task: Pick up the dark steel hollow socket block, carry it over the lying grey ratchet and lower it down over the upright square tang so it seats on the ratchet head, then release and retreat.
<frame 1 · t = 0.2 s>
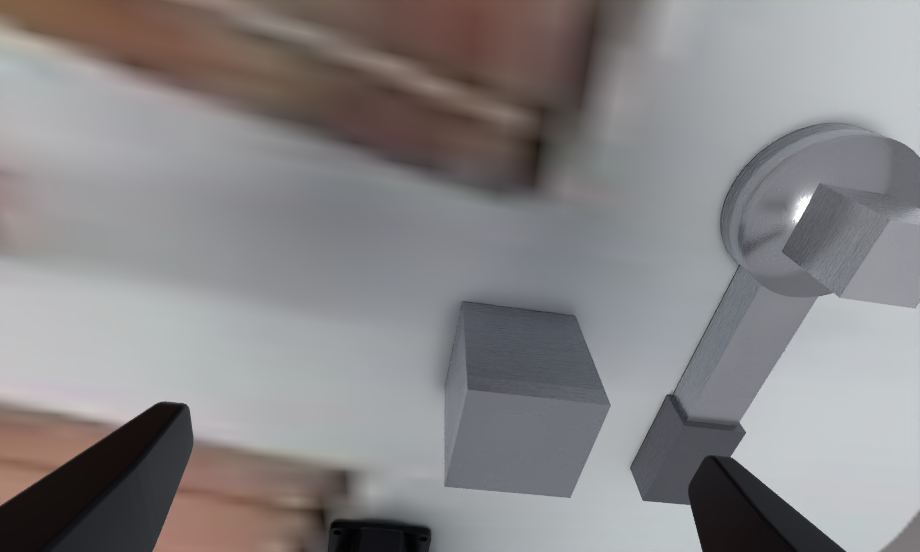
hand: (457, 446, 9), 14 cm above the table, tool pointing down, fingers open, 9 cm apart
socket: (507, 353, 25), on the table
ratchet: (802, 205, 22), on the table
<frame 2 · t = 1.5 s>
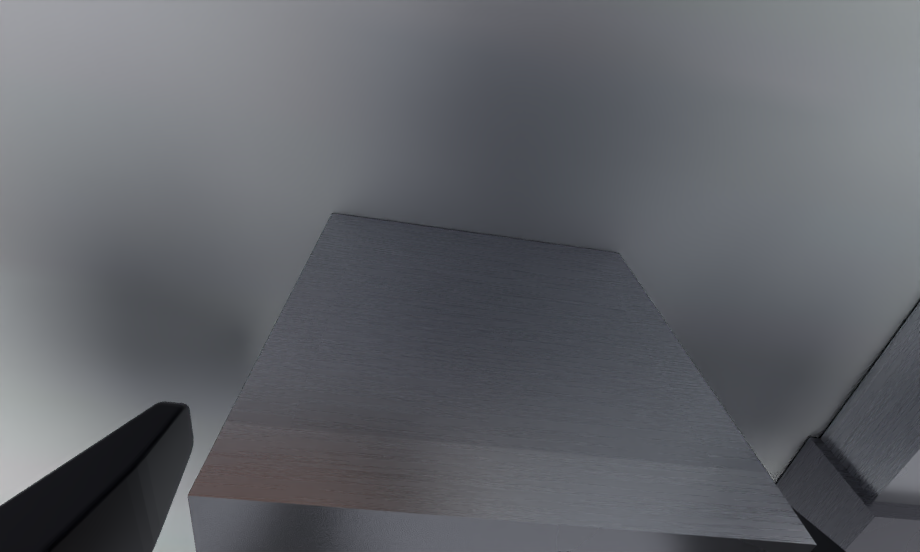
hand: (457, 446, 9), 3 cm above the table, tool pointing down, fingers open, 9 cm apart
socket: (456, 349, 11), on the table
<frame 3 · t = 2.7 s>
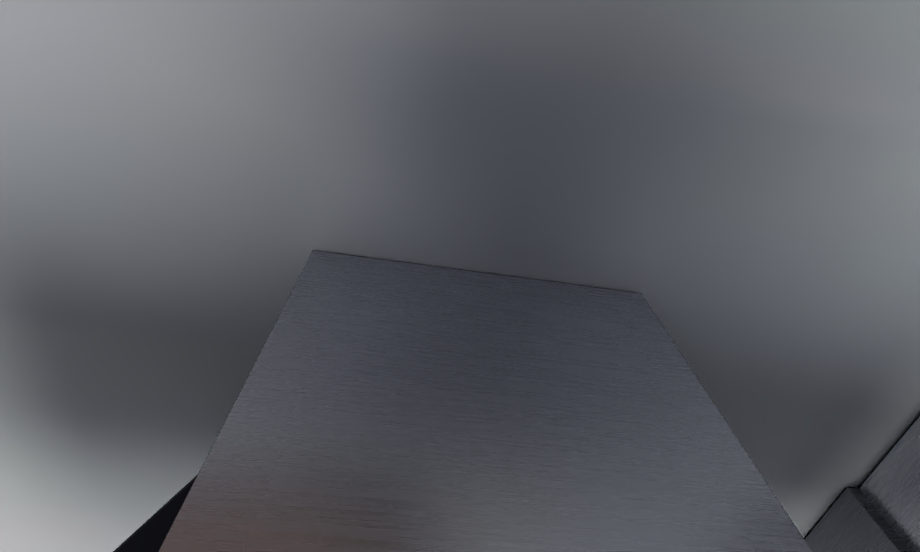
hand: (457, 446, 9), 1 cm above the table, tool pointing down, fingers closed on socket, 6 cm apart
socket: (456, 397, 10), on the table, touching gripper
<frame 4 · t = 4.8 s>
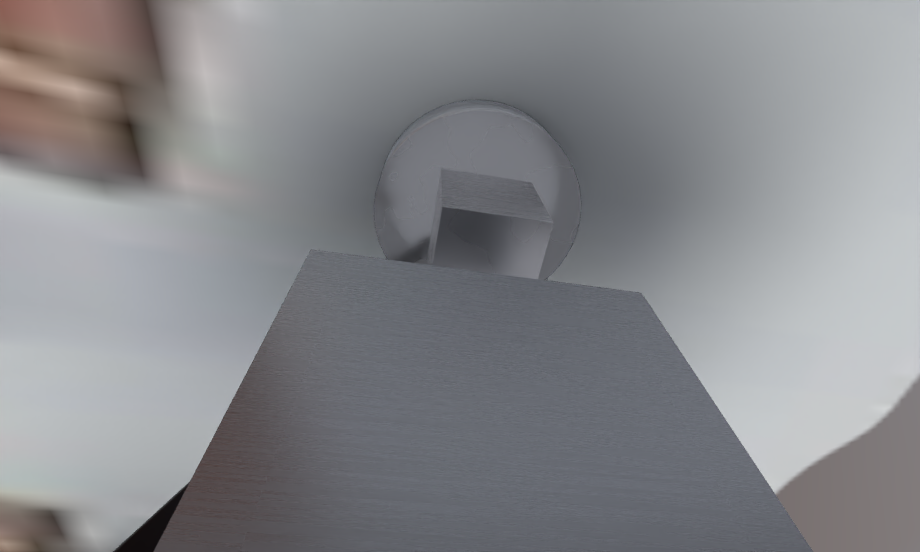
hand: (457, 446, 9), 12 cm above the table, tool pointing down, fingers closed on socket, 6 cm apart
socket: (455, 396, 10), point 10 cm above the table, touching gripper
ratchet: (474, 197, 19), on the table
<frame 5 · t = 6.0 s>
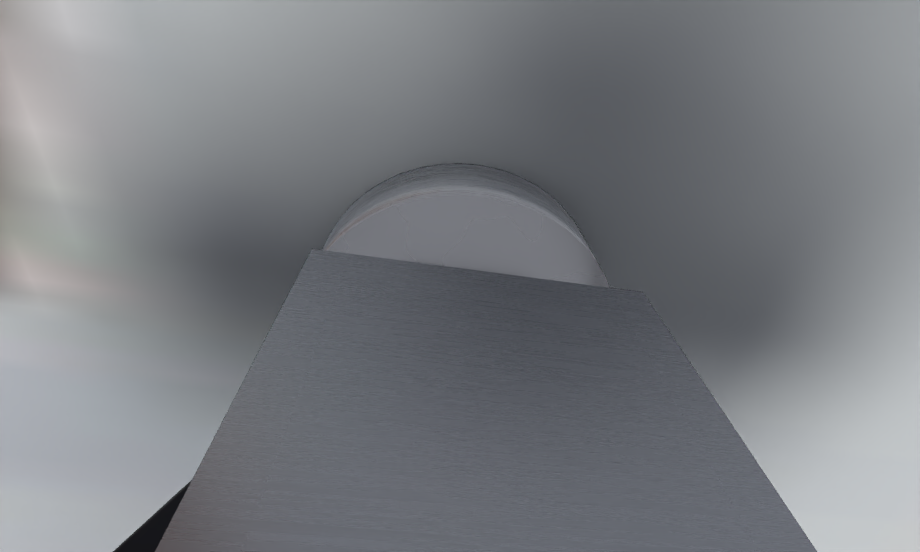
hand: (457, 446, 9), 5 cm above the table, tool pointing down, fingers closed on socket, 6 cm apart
socket: (456, 396, 10), point 4 cm above the table, touching gripper
ratchet: (455, 297, 13), on the table
when the fingers open (4 cm above the table, at t = 6.9 s): socket drops 1 cm, resting on ratchet.
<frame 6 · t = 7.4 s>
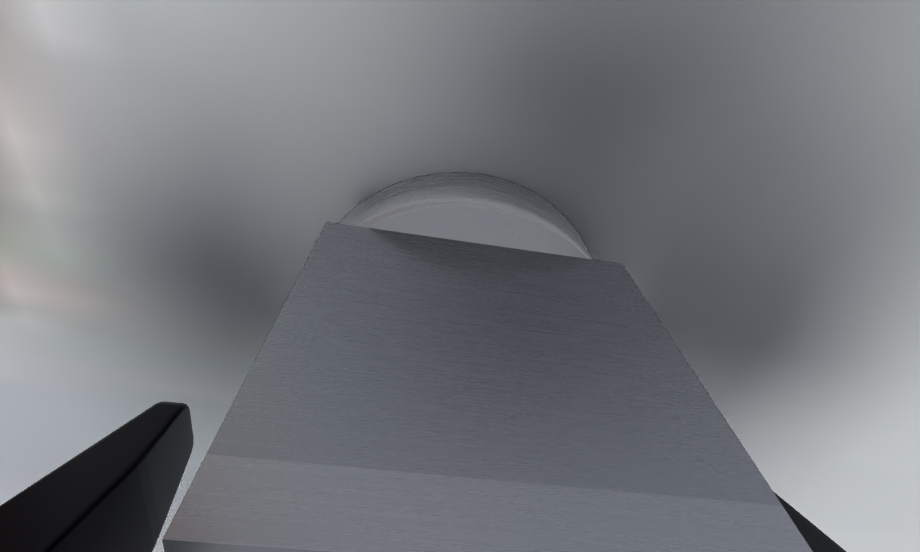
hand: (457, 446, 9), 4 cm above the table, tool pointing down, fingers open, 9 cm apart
socket: (454, 360, 11), point 2 cm above the table, touching ratchet
ratchet: (454, 309, 12), on the table
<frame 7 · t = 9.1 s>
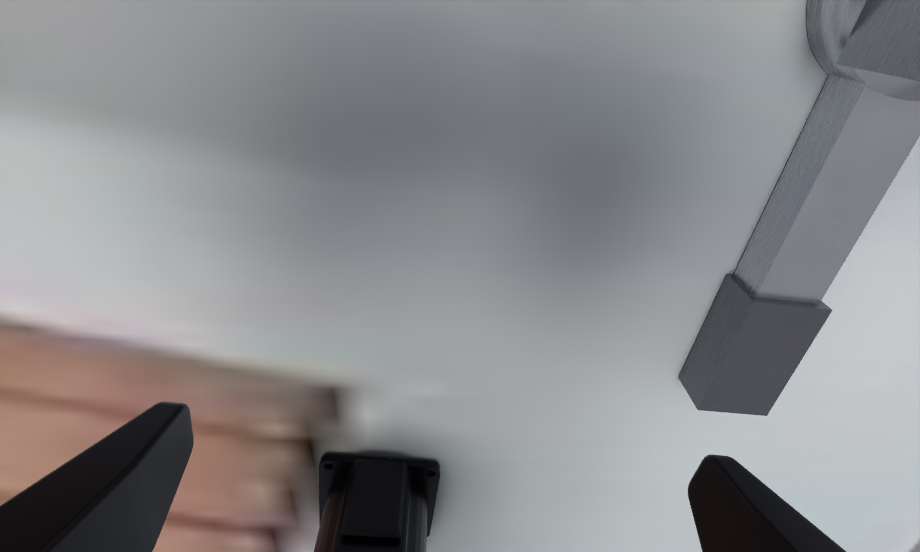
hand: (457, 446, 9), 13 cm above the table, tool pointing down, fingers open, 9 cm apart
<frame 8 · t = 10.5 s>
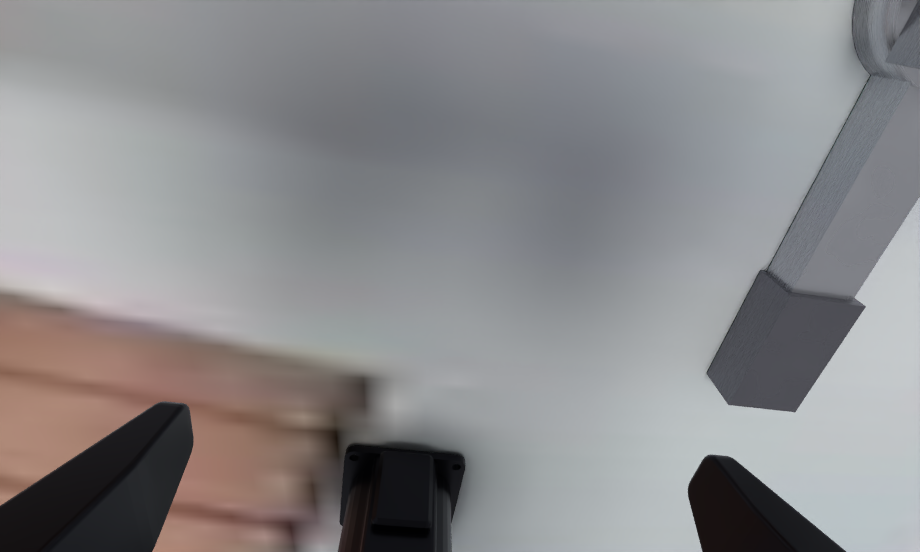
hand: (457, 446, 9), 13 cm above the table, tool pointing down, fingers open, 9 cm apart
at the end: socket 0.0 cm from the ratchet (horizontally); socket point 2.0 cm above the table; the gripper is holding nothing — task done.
